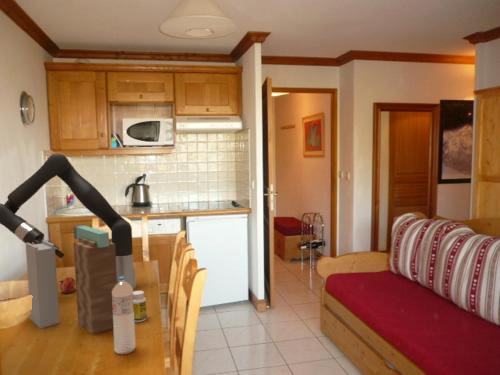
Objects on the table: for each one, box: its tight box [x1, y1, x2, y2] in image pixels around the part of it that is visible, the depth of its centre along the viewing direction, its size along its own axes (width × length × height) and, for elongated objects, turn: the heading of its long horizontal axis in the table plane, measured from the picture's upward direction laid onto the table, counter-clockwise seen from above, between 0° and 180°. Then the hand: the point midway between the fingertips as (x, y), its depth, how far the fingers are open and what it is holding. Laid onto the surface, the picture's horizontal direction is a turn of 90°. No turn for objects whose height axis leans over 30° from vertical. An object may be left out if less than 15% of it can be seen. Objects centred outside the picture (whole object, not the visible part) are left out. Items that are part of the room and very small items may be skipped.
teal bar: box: [73, 224, 110, 248], centre depth 158 cm, size 24×4×5 cm, turn 44°
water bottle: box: [111, 276, 136, 355], centre depth 137 cm, size 7×7×25 cm
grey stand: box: [25, 239, 60, 329], centre depth 162 cm, size 12×7×31 cm, turn 44°
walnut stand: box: [73, 237, 117, 335], centre depth 157 cm, size 14×10×34 cm
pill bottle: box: [133, 290, 148, 323], centre depth 162 cm, size 6×6×11 cm
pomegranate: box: [58, 276, 76, 294], centre depth 197 cm, size 7×7×10 cm
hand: (58, 256), depth 177 cm, fingers open, 8 cm apart
